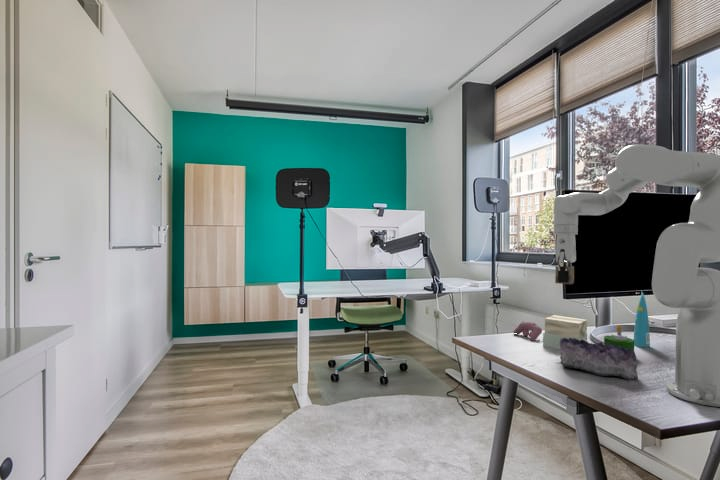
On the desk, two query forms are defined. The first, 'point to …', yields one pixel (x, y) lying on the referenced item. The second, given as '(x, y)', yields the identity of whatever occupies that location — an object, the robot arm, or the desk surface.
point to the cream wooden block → (566, 326)
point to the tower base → (557, 339)
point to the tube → (642, 325)
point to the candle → (619, 339)
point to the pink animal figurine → (525, 329)
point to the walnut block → (571, 275)
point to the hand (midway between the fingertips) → (564, 281)
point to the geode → (599, 358)
